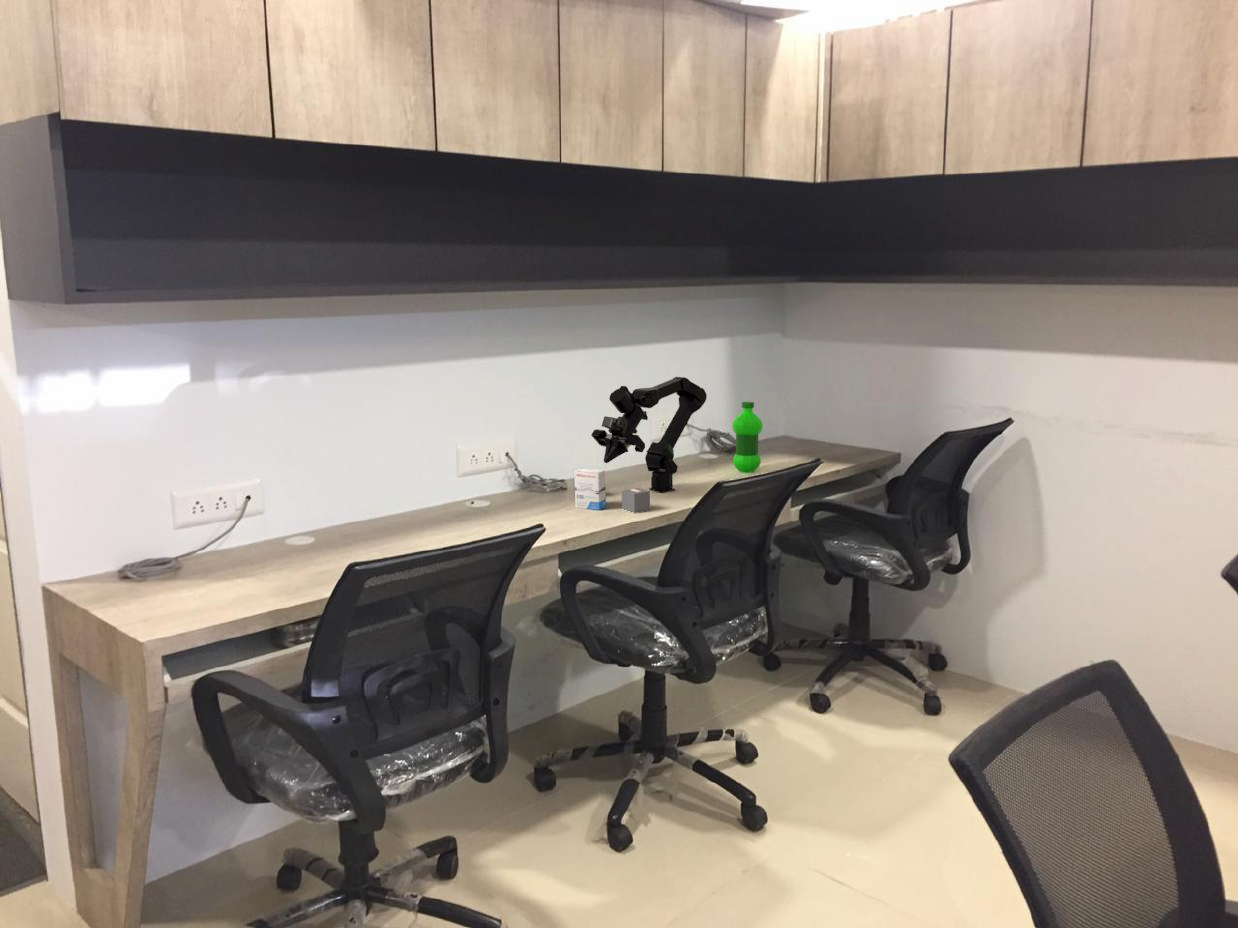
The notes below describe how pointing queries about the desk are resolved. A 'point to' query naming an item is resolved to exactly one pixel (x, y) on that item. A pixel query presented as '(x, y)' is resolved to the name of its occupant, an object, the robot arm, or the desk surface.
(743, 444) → the plastic bottle
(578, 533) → the desk surface
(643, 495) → the marked block 2
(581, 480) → the ink box
